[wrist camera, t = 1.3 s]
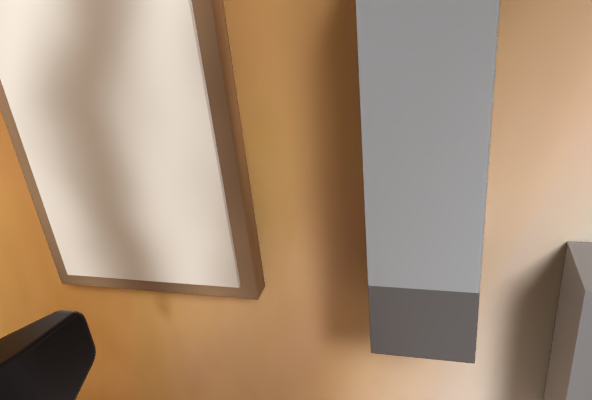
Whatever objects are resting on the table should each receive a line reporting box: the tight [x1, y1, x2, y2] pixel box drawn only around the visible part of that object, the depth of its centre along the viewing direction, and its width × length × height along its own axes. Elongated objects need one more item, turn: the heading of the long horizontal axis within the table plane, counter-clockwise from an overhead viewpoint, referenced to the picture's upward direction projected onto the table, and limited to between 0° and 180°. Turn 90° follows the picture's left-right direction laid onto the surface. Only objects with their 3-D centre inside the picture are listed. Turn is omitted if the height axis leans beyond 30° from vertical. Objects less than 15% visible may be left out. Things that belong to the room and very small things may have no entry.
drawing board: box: [0, 0, 265, 300], centre depth 20 cm, size 10×20×1 cm, turn 5°
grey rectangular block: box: [356, 0, 500, 363], centre depth 17 cm, size 4×14×4 cm, turn 5°
